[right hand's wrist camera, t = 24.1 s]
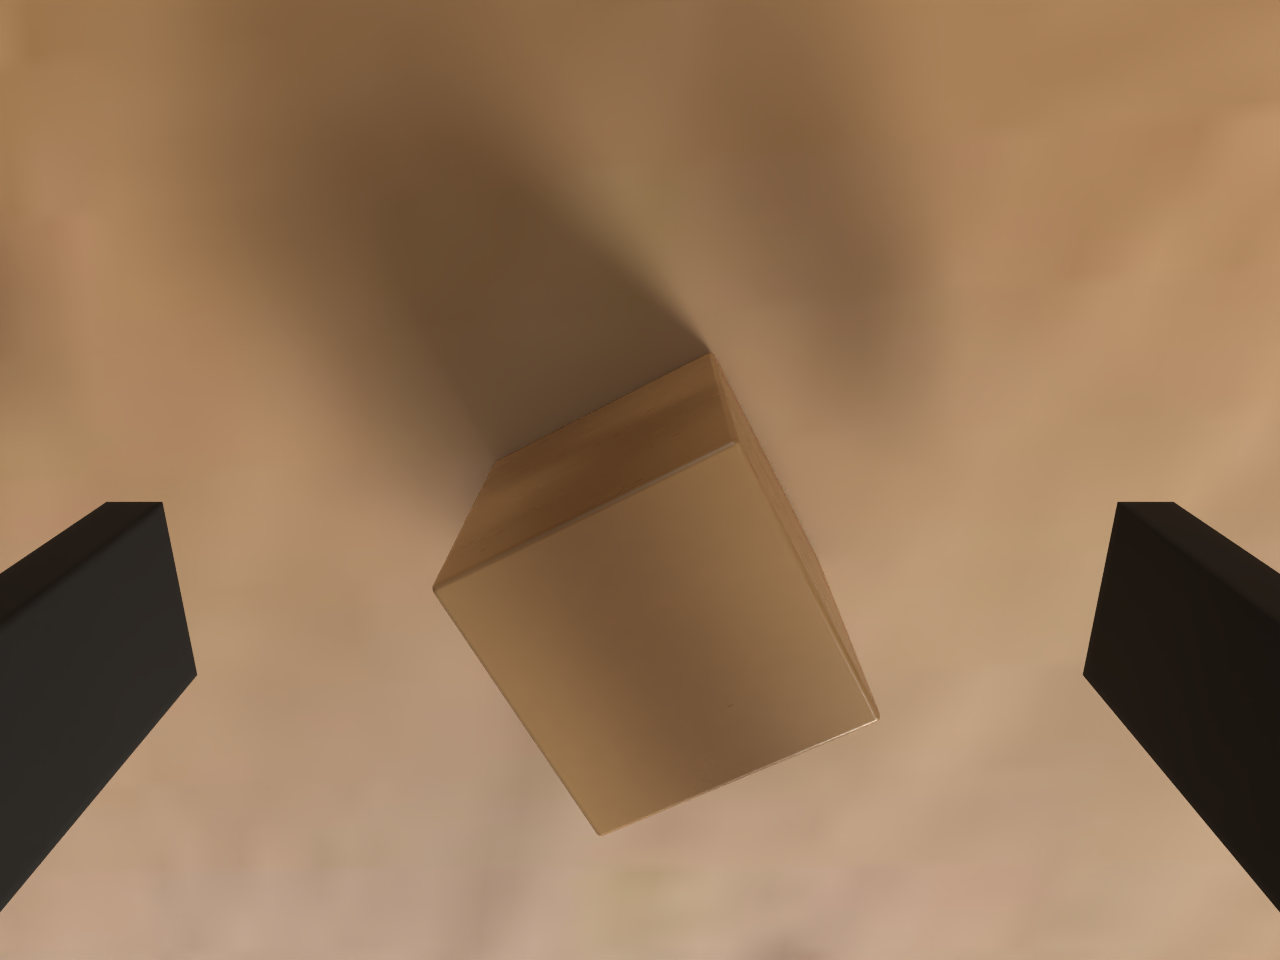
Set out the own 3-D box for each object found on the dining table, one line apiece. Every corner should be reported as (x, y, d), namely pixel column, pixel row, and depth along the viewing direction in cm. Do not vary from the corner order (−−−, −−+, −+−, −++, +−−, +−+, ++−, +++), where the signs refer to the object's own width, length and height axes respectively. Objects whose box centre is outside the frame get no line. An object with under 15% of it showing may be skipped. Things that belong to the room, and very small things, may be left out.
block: (613, 657, 17) (598, 840, 12) (492, 462, 15) (427, 589, 11) (820, 563, 16) (884, 721, 12) (712, 349, 15) (736, 437, 10)
